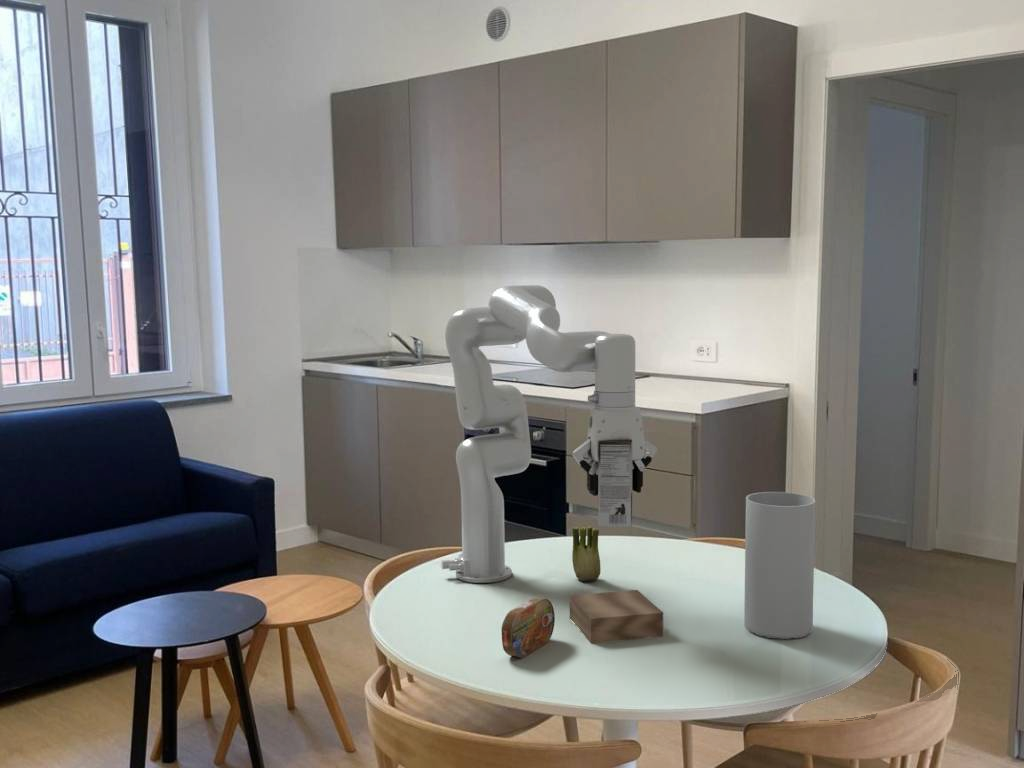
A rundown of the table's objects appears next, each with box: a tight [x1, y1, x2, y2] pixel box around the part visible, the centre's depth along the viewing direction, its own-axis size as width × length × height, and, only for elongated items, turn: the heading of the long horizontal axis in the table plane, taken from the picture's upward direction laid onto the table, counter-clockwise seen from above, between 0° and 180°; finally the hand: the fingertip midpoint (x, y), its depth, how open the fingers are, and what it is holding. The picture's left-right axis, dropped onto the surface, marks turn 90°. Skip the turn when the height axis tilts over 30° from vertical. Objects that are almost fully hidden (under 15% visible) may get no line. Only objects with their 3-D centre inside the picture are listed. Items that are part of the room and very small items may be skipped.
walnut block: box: [569, 589, 664, 644], centre depth 194 cm, size 14×14×5 cm
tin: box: [501, 597, 556, 659], centre depth 183 cm, size 15×3×8 cm, turn 148°
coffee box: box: [597, 439, 633, 528], centre depth 191 cm, size 9×6×16 cm
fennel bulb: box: [571, 526, 601, 583], centre depth 224 cm, size 6×5×12 cm
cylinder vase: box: [743, 491, 816, 640], centre depth 191 cm, size 12×12×25 cm
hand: (615, 492), depth 191 cm, fingers closed on coffee box, 8 cm apart
